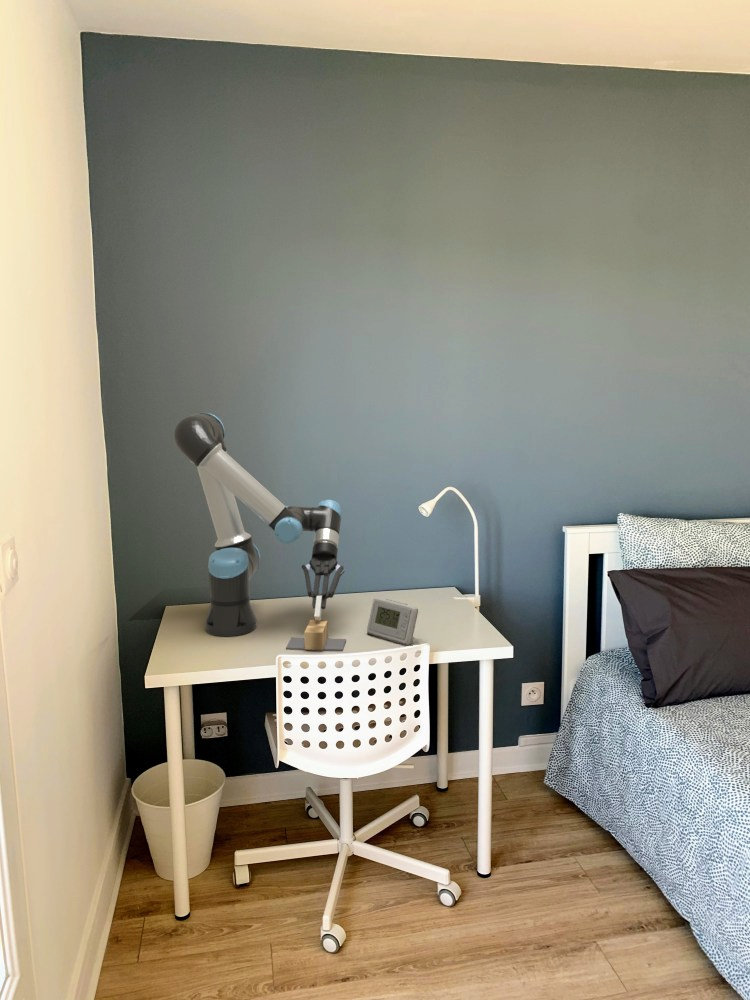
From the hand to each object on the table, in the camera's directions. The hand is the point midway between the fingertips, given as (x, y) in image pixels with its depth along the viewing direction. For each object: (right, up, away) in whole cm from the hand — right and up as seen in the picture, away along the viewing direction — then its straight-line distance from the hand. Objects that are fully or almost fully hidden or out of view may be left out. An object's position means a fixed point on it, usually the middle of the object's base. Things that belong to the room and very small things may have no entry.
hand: (317, 618), depth 221 cm
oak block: (0, -3, +3) cm, 5 cm away
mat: (0, -7, -1) cm, 8 cm away
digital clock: (+21, -7, +4) cm, 23 cm away
